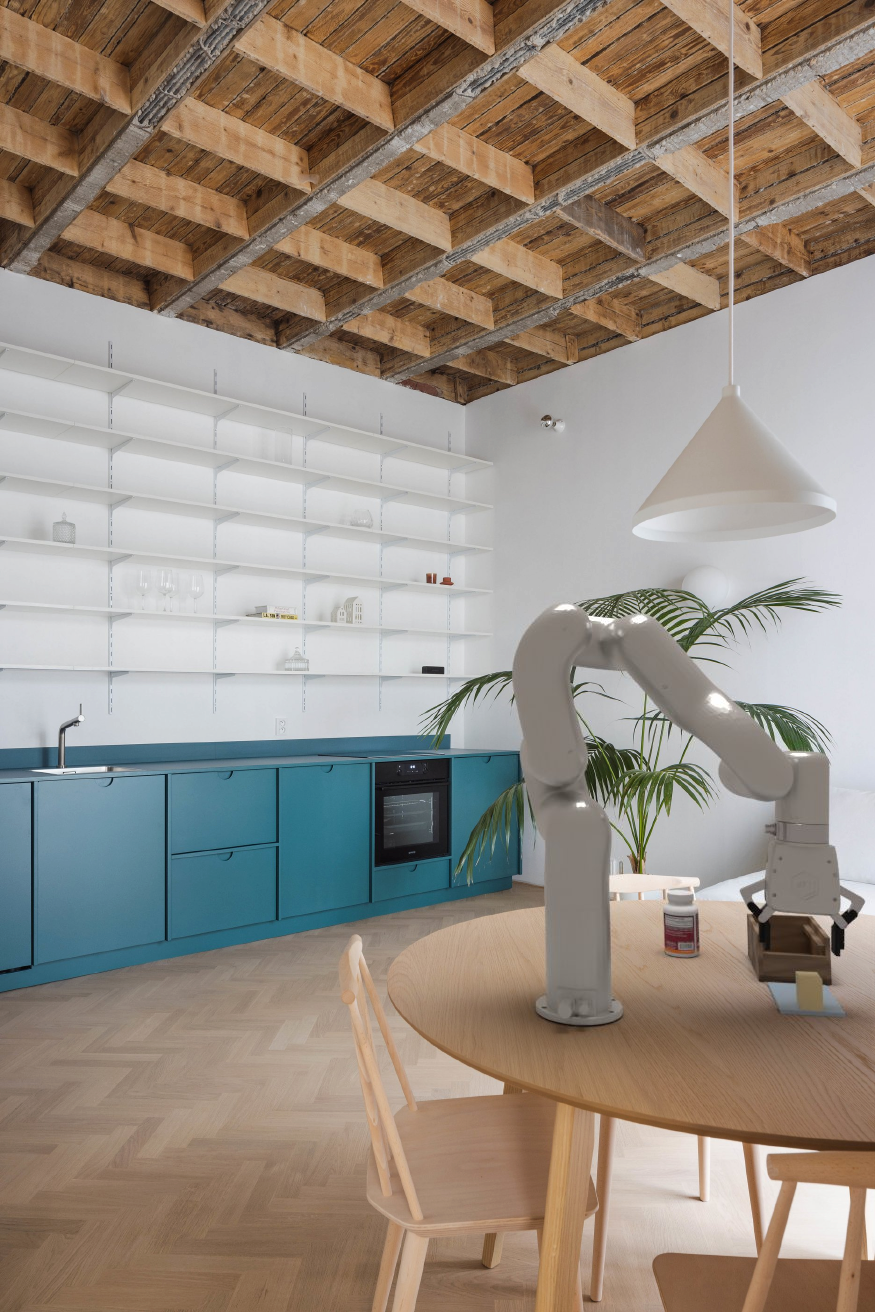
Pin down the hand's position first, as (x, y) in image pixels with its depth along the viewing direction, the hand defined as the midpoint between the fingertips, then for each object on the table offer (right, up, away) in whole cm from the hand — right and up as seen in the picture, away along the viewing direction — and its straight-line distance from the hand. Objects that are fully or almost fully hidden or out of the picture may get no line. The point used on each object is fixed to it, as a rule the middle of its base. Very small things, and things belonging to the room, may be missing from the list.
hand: (800, 951), depth 133 cm
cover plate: (+2, -9, +3) cm, 10 cm away
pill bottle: (-9, -11, +30) cm, 33 cm away
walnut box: (+6, -10, +20) cm, 23 cm away
